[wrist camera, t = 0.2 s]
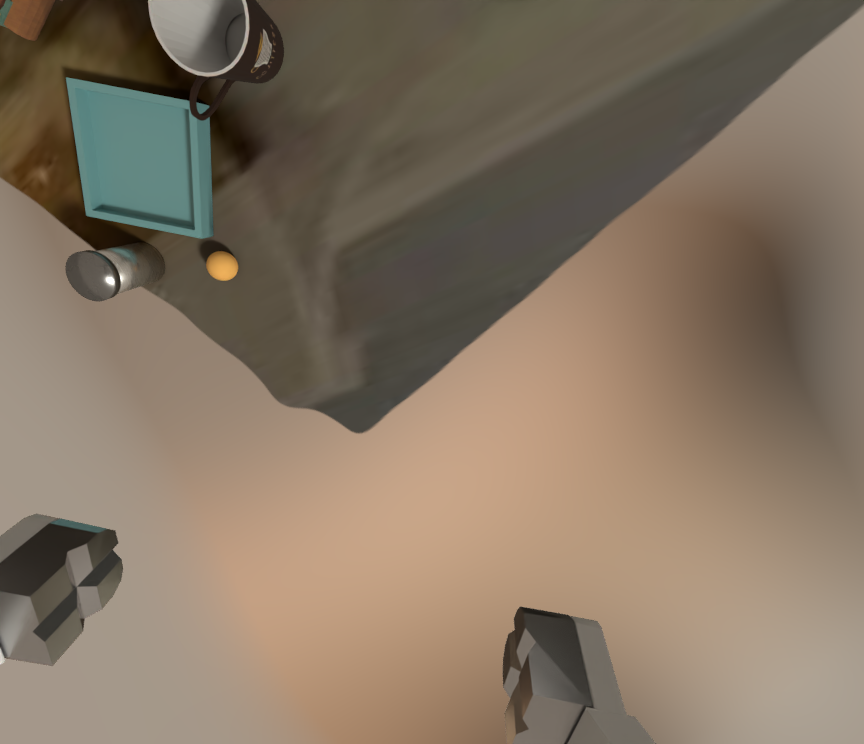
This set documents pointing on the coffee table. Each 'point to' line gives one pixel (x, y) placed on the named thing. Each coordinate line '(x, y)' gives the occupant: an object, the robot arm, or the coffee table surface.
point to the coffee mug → (218, 42)
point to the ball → (222, 265)
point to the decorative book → (25, 16)
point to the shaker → (114, 270)
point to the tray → (142, 158)
